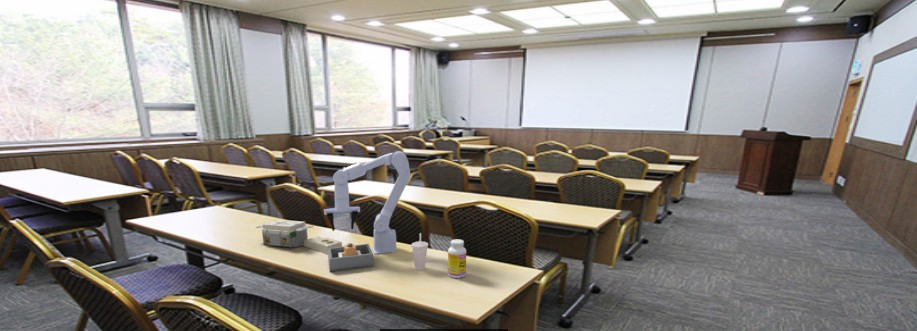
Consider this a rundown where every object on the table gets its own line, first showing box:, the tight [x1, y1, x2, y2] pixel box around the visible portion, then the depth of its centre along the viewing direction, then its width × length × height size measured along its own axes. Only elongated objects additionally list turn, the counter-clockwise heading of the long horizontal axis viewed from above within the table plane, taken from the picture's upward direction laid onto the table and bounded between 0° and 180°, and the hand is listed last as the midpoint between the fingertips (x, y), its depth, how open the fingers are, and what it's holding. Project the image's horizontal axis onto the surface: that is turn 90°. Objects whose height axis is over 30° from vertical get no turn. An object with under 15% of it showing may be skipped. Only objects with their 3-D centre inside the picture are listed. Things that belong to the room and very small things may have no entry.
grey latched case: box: [255, 219, 314, 248], centre depth 172 cm, size 12×28×10 cm, turn 65°
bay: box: [327, 243, 374, 273], centre depth 149 cm, size 16×13×5 cm
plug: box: [343, 242, 356, 257], centre depth 149 cm, size 4×4×7 cm
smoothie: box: [411, 232, 429, 271], centre depth 144 cm, size 6×6×14 cm
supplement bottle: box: [447, 238, 467, 279], centre depth 138 cm, size 7×7×13 cm
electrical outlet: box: [303, 235, 343, 255], centre depth 167 cm, size 7×4×18 cm
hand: (342, 229), depth 161 cm, fingers open, 7 cm apart
